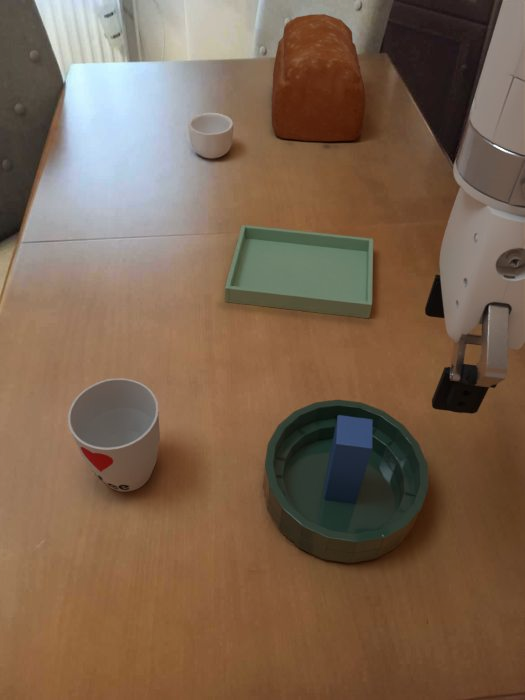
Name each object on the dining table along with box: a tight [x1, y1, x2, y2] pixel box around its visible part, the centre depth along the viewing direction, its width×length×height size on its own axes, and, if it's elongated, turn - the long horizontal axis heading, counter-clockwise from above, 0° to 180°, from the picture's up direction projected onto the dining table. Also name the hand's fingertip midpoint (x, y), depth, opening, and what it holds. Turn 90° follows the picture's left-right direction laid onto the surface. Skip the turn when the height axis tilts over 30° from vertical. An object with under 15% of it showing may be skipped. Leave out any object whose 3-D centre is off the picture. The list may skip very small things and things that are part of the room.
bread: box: [271, 13, 366, 142], centre depth 112 cm, size 17×24×15 cm
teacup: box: [187, 112, 234, 159], centre depth 105 cm, size 10×8×5 cm
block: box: [324, 415, 373, 503], centre depth 57 cm, size 3×3×10 cm
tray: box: [224, 224, 374, 319], centre depth 83 cm, size 19×14×2 cm
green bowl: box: [262, 399, 430, 564], centre depth 59 cm, size 16×16×5 cm
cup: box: [67, 377, 161, 493], centre depth 58 cm, size 8×8×10 cm
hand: (448, 358), depth 46 cm, fingers open, 9 cm apart
